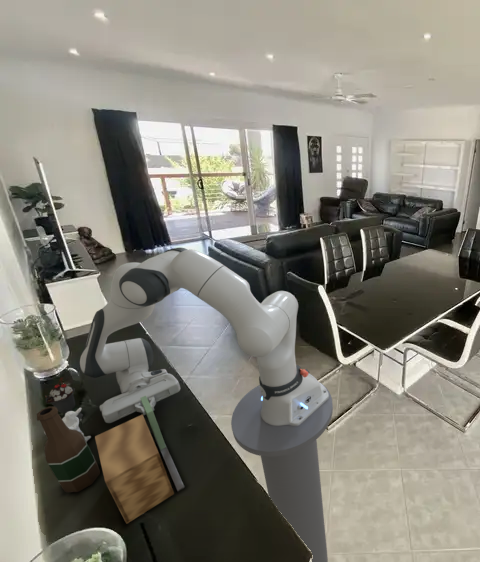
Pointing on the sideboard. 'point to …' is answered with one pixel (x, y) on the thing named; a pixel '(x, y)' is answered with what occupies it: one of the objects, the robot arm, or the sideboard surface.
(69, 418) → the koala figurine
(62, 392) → the sundae
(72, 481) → the beer bottle
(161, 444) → the sliding door
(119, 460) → the cupboard
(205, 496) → the sideboard surface
